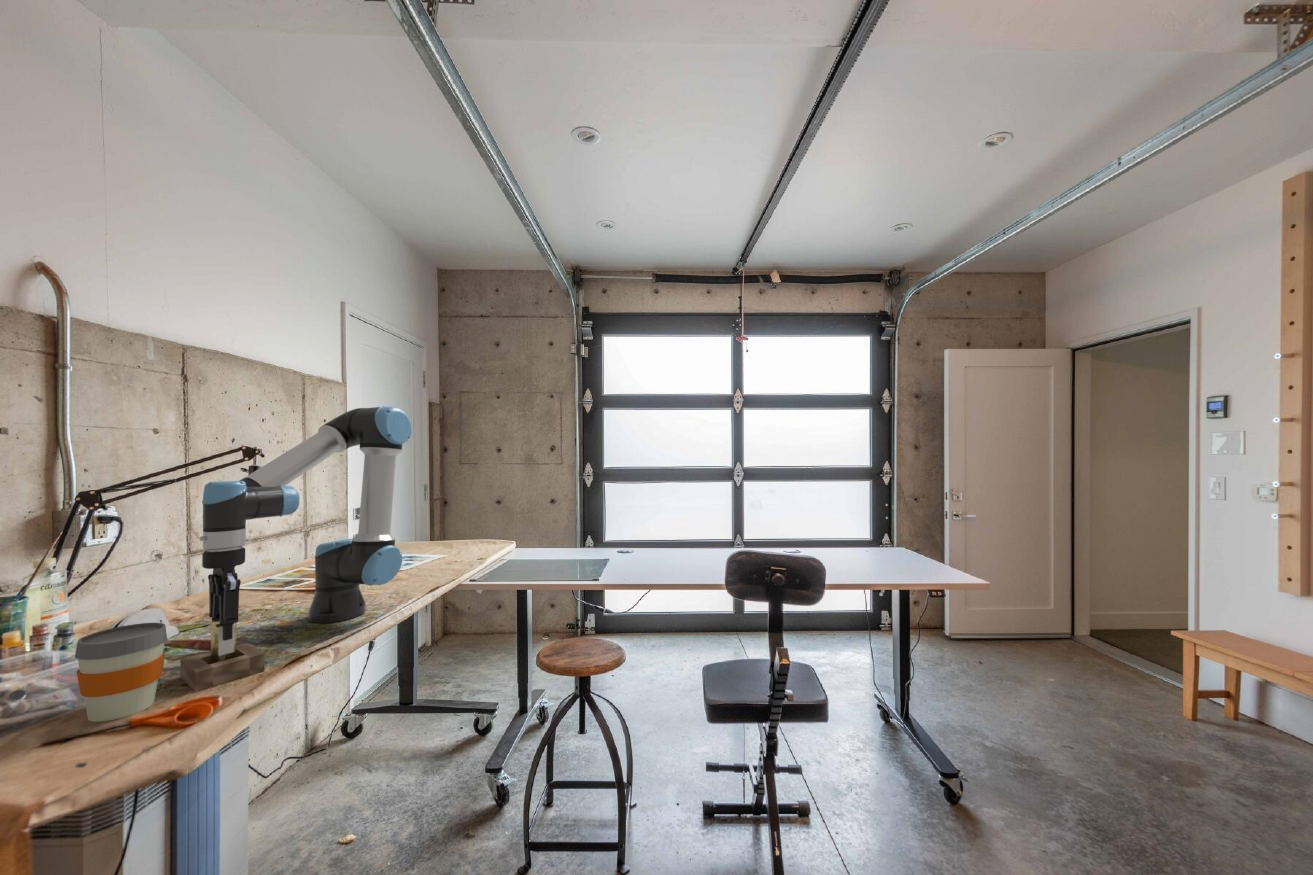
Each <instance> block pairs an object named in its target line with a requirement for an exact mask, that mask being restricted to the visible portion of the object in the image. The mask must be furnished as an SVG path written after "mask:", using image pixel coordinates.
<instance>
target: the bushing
mask: <svg viewBox="0 0 1313 875" xmlns="http://www.w3.org/2000/svg"><path fill="white" fill-rule="evenodd" d="M217 624H220V619H218V620H215V621H212V620H211V623H210V652H211V664H213V663H217V662H221V661H224V660H228V659H232V658H235V657H236V645H237V622H235V624H234V652H232V653H228V654H225V655H221V656H218V627H216V625H217Z"/></svg>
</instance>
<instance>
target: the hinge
mask: <svg viewBox="0 0 1313 875" xmlns="http://www.w3.org/2000/svg"><path fill="white" fill-rule="evenodd" d="M141 623H163V624H165V626H166V633H167V638H168V639H170V638H172V637H174V636H176V635H178V634H179V633H180V631H179V629H178V627H177V626H175V625H171V623H170V621H169V620H168V618H167V616H166V614H165V613H164V610H163V609H162V608H159V607H153V608H152V607H150V608H147V609H142V610H138V611H136V612H132V613H130V614H127V615H126V616H124V617H122V618H120V619H118V620H117V621H115V623H114V622H113V624H112V625H111V626H110V627H109V628H108V629H111V628H116V627H121V626H127V625H133V624H141Z"/></svg>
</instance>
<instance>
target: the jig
mask: <svg viewBox="0 0 1313 875" xmlns="http://www.w3.org/2000/svg"><path fill="white" fill-rule="evenodd" d="M265 656H266V655H265V653H264V652H263V651H261V650H259V649H258V648H256V647H254V646H252V645H251V644H249V643H247V642H243V643H240V644H236V657H235V658H232V659H228V660H224V661H221V662H217V663H213V664H211V651H208V652H205V653H201V654H197V655H193V656H188V657H186V658H181V659H180V663H179V664H180V665H179V667H180V668H179V671H180V673H179V674H180V675H179V678H180V679H181V680H182V681H184V683H186V684H187V685H188V686H189V687H190V688H191V689H193V691H195V692H198V691H202V690H205V689H208V688H212V687H215V686H219V685H222V684H226V683H228V682H231V681H232V682H233V681H235V680H238V679H242V678H245V677H248V676H252V675H255V674H258V673H263V672H265V666H266V665H265V658H266V657H265Z"/></svg>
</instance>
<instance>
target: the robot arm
mask: <svg viewBox="0 0 1313 875" xmlns="http://www.w3.org/2000/svg"><path fill="white" fill-rule="evenodd" d="M412 426H413V425H412V422H411V420H410V417H409V416H408V415H407V413H406V412H405V411H403V409H401V408H399V407H396V406H376V407H375V406H374V407H361V408H360V407H359V408H355V409H350V410H348V411H346V412H344V413H341V414H340V415H338V416H336V417H334V418H332V419H331V420H329V421H328V422H326V423H324V424H323V425H321V426H319V427H318V430H317V433H315V434H313V435H312V436H310V437H308V438H307V439H305V440H303V441H301V442H300V443H299V444H297V445H296V446H295V445H294V447H292V448H290V449H289V450H287V451H286V452H284V453H282V454H280V455H279V456H278V457H276V458H273V459H272V460H270V461H269V462H268V463H266V464H265V465H262V466H261V467H260V468H258V469H256V470H254V471H253V472H251V473H249V474H248V475H247V476H244V477H243V478H242V479H240V480H225V481H219V480H218V481H209V482H207V483H206V484H205V485H204V488H203V494H202V502H201V503H202V536H200V537H199V541H202V549H204V551H203V552H202V558H201V560H202V562H201V563H202V564H201V566H202V568H203V569H207V570H211V569H212V573H211V574H208V575H207V578H208V589H209V590H208V591H209V593H208V594H209V600H208V601H209V602H208V603H209V604H208V606H209V608H208V609H209V614H208V616H209V618H210V619H211V622H212V621H215V620H218V619H220V624H217V625H216V627H218V656H221V655H225V654H228V653H232V652H234V624H235V622H236V623H238V622H239V607H240V604H239V603H240V587H241V583H242V581H241V579H240V578H238V573H237V572H236V570H235V568H236V567H237V566H241V565H243V564H244V563H245V562H246V548H245V547H244V546H245V545H246V544H247V543H246V542H247V540H246V538H247V535H246V534H247V533H246V532H247V530H246V529H247V528H246V521H248V520H254V519H255V520H256V519H264V518H265V519H266V518H274V517H283V516H288V515H291V514H294V513H295V512H297V510H298V509H299V507H300V503H301V502H300V499H301V498H300V497H301V496H300V494H299V492H298V490H297V489H296V487H293V486H291V485H288V484H290V483H292V482H293V481H294V480H295V481H296V479H298V478H300V477H301V476H302V475H303V474H305V473H307V472H308V471H310V470H311V469H312V468H314V467H315V466H317V465H318V464H320V463H322V462H323V461H325V460H326V459H328V458H329V457H331V456H332V455H333V454H335V453H342V452H344V451H346V450H347V449H350V448H352V447H355V446H359V450H360V451H361V452H362V453H363V455H364V460H363V461H364V462H363V472H362V482H361V484H362V485H361V497H360V508H359V519H358V520H359V521H358V532H357V534H356V535H355V536H354V537H353V538H346V539H339V540H334V541H333V540H332V541H328V542H322V543H320V544H318V545H317V546H316V548H315V554H314V555H315V556H314V575H315V576H314V577H315V578H314V580H315V582H314V586H315V587H314V589H315V590H314V596H313V599H312V601H311V604H310V605H309V608H308V613H307V620H308V622H310V623H315V624H316V623H317V624H324V623H325V624H326V623H336V622H342V621H345V620H346V621H347V620H350V619H354V618H357V617H359V616H362V615H363V614H365V612H366V609H367V608H366V607H367V605H366V601H365V598H364V596H363V594H362V591H361V588H360V585H366V586H382V585H386V584H388V583H389V582H391V581H393V579H394V578H395V576H398V573H399V572H400V571H401V567H402V564H403V553H402V552H401V550H400V549H399V548H398V547H396V546H395V545H396V537H394V536H393V535H392V534H391V524H392V515H393V514H392V513H393V503H394V502H393V501H394V487H395V476H396V475H395V473H396V472H395V471H396V464H397V463H396V462H397V456H398V455H399V454H400V453H401V452H402V451H403V445H404V444H405V443H406V442H408V440H410V438H411V436H412V433H413V428H412Z"/></svg>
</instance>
